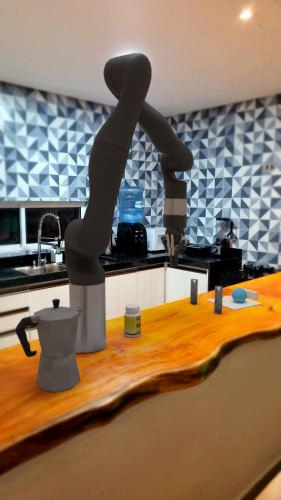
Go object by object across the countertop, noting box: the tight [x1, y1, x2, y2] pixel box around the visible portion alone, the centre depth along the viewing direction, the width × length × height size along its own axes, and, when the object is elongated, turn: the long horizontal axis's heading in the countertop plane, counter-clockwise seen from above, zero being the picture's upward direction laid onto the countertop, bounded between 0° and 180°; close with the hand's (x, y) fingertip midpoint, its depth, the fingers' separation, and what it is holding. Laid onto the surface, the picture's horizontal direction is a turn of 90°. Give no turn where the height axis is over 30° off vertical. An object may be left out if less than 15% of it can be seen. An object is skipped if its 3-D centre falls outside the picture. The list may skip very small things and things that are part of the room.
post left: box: [189, 278, 199, 306], centre depth 133 cm, size 3×3×9 cm
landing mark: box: [206, 294, 263, 311], centre depth 136 cm, size 14×14×1 cm
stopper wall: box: [241, 287, 259, 300], centre depth 144 cm, size 2×9×2 cm, turn 32°
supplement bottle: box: [123, 303, 142, 338], centre depth 104 cm, size 5×5×8 cm
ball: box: [231, 287, 248, 303], centre depth 136 cm, size 6×6×6 cm
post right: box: [213, 285, 224, 315], centre depth 123 cm, size 3×3×9 cm
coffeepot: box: [15, 298, 84, 393], centre depth 76 cm, size 15×9×18 cm, turn 134°
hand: (173, 266), depth 120 cm, fingers closed
